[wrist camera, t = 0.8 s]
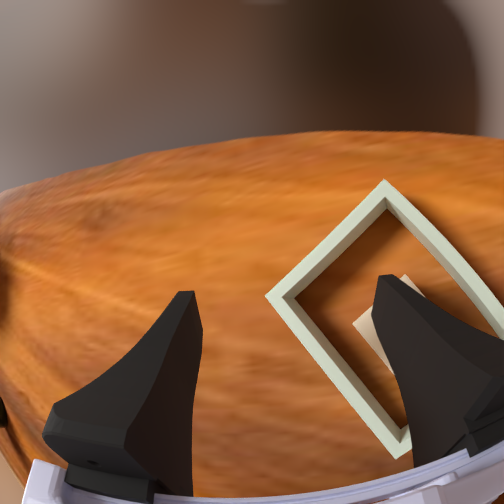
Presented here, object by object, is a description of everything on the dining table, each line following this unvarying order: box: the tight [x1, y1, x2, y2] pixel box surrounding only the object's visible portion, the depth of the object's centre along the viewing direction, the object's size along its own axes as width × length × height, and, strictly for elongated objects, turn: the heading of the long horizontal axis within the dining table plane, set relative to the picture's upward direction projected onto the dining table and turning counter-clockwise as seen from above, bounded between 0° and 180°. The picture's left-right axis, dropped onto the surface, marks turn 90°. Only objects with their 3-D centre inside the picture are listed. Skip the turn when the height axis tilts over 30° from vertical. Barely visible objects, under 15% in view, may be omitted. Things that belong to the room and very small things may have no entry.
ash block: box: [352, 274, 426, 374], centre depth 19 cm, size 4×4×6 cm
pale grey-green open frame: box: [265, 179, 504, 459], centre depth 21 cm, size 17×13×3 cm
